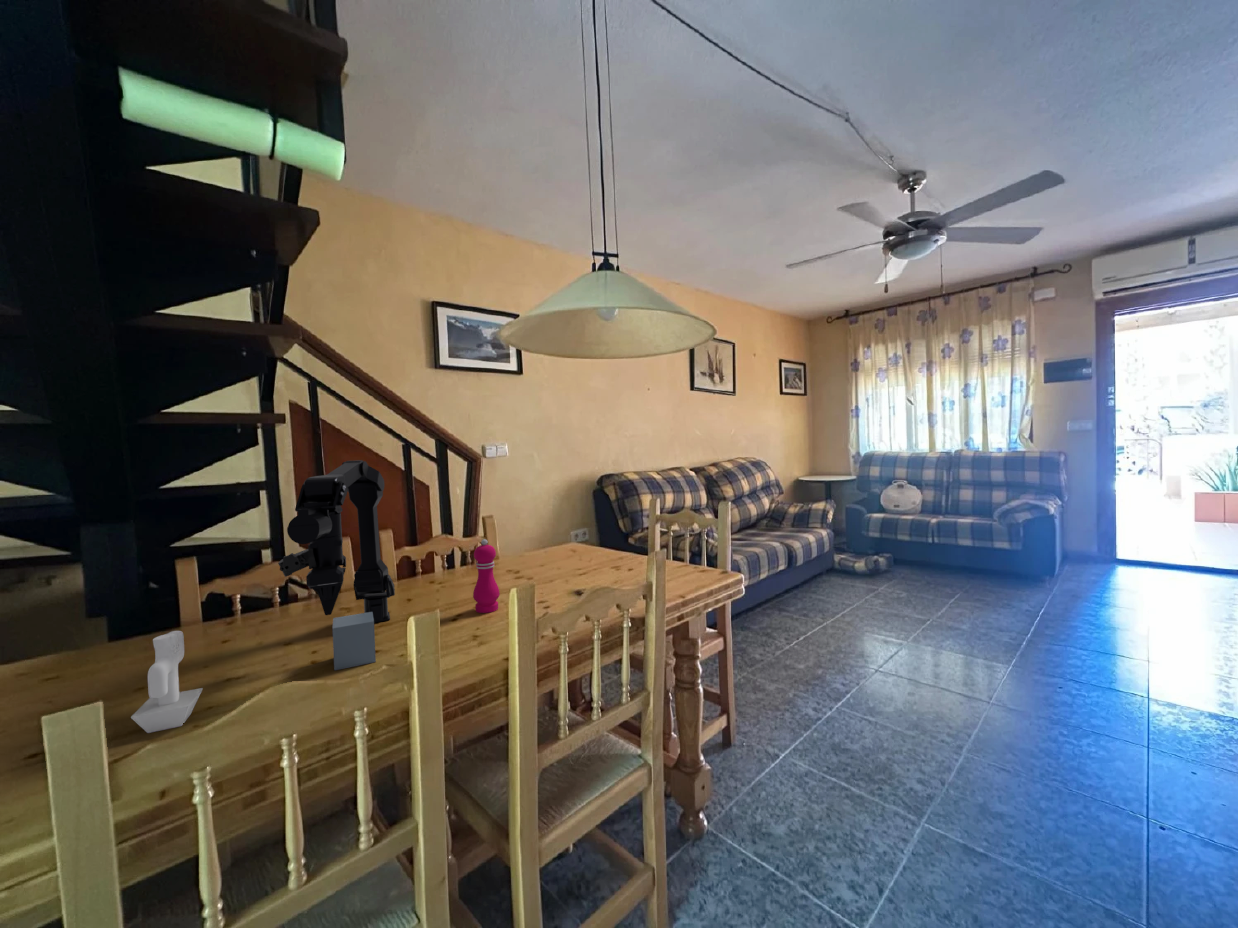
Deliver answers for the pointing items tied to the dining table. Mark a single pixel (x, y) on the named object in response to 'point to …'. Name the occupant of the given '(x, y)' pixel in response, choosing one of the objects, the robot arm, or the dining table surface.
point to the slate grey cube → (353, 640)
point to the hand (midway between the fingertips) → (329, 608)
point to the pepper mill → (485, 579)
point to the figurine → (166, 688)
